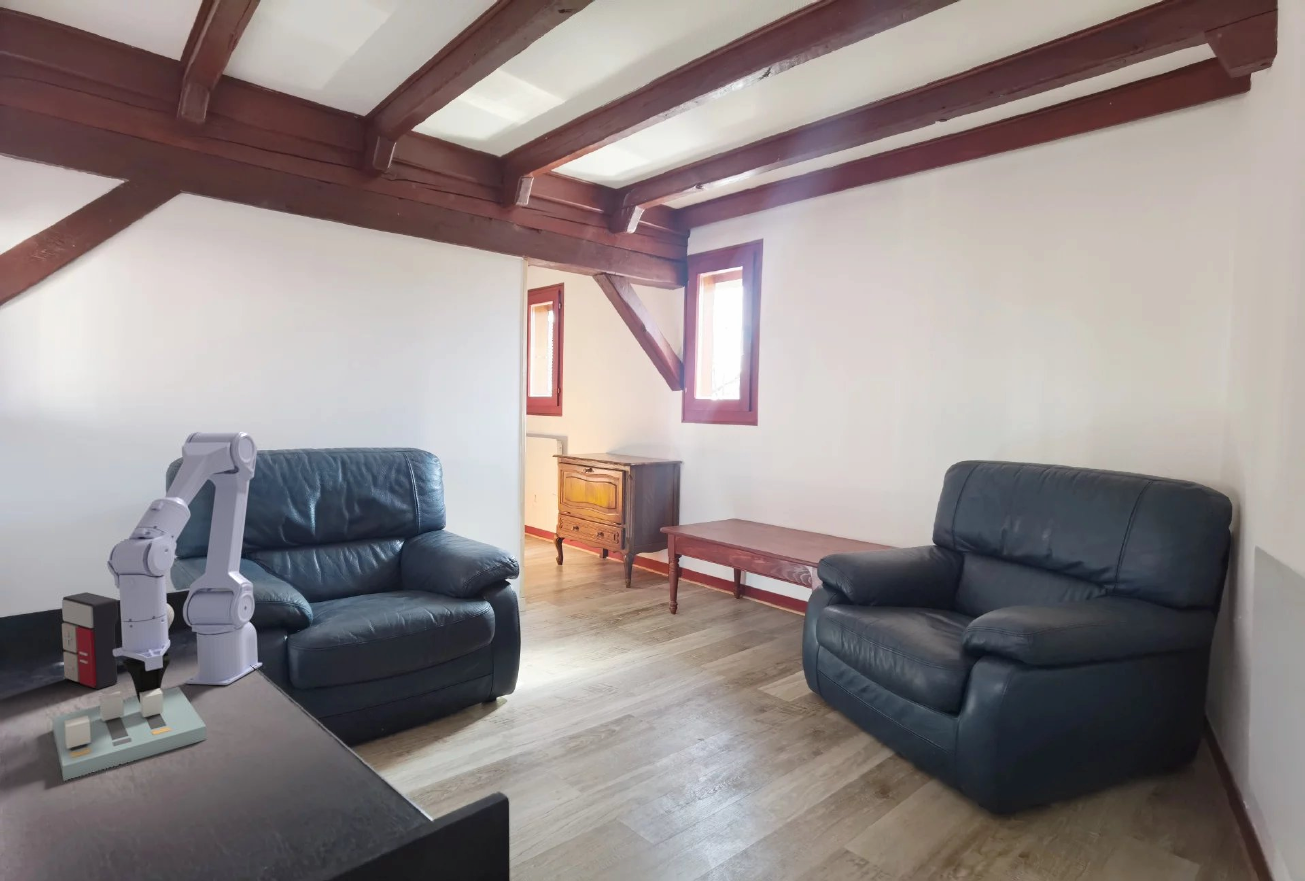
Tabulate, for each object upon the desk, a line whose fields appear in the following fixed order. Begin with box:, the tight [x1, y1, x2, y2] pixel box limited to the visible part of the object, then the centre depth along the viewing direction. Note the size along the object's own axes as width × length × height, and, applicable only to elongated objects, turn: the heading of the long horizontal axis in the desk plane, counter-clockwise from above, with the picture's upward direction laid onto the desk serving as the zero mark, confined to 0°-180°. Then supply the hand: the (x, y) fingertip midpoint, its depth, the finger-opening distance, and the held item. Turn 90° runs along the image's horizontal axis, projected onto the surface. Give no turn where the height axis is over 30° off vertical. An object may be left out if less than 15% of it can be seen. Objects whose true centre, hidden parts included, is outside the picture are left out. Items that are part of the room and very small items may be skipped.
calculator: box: [61, 591, 119, 690], centre depth 123 cm, size 11×4×15 cm, turn 62°
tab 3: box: [140, 688, 164, 717], centre depth 105 cm, size 2×2×3 cm
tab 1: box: [64, 715, 91, 749], centre depth 96 cm, size 2×2×3 cm
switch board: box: [51, 686, 208, 782], centre depth 103 cm, size 20×16×2 cm
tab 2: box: [99, 690, 124, 721], centre depth 104 cm, size 2×2×3 cm
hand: (148, 703), depth 107 cm, fingers closed
